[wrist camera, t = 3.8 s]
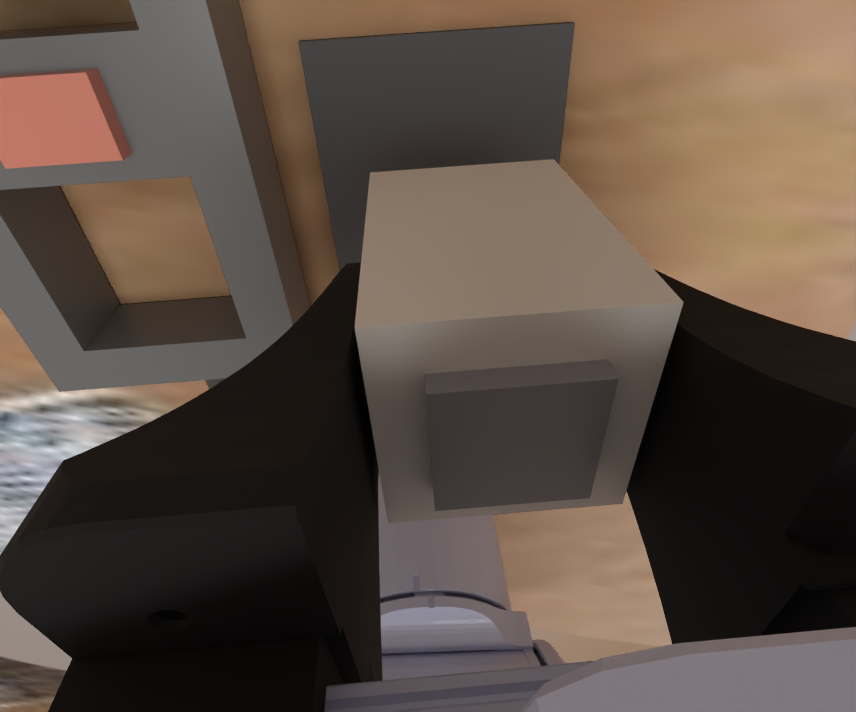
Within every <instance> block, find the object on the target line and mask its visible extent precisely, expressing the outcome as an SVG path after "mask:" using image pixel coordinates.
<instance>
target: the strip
mask: <svg viewBox="0 0 856 712" xmlns="http://www.w3.org/2000/svg"><path fill="white" fill-rule="evenodd" d="M129 1H130V4H131V7H132V10H133V13H134V16H135V19H136V22H132V23H117V24H102V25H87V26H72V27H58V28H43V29H28V30H13V31H0V307H1V308H2V310H3V311H4V313H5V314H6V316H7V317H8V319H9V320H10V321H11V323H12V324H13V326H14V327H15V329H16V330H17V331H18V333H19V334H20V336H21V337H22V339H23V340H24V342H25V343H26V344H27V346H28V347H29V349H30V350H31V352H32V353H33V354H34V356H35V357H36V359H37V360H38V362H39V363H40V364H41V366H42V367H43V369H44V370H45V372H46V373H47V375H48V376H49V377H50V379H51V380H52V382H53V383H54V385H55V386H56V387H57V389H58V390H59V392H60V391H73V390H85V389H98V388H110V387H123V386H135V385H147V384H160V383H172V382H185V381H197V380H205V381H206V383H207V385H208V387H209V389H211V388H212V387H214V386H215V385H217V384H218V383H220V382H221V381H223V380H224V379H226V378H227V377H229V376H230V375H232V374H233V373H235V372H236V371H238V370H239V369H241V368H242V367H244V366H245V365H247V364H248V363H249V362H251V361H252V360H253V359H255V358H256V357H257V356H258V355H260V354H261V353H262V352H263V351H265V350H266V349H267V348H269V347H270V346H271V345H272V344H273V343H274V342H276V341H277V340H278V339H279V338H280V337H281V336H282V335H283V334H285V333H286V332H287V331H288V330H289V329H290V328H291V327H292V326H293V325H294V323H295V322H296V321H297V320H298V319H299V318H300V317H301V316H302V315H303V314H304V313H305V312H306V311H307V310H308V309H309V308H310V303H309V299H308V294H307V290H306V286H305V282H304V278H303V273H302V269H301V265H300V261H299V256H298V252H297V248H296V244H295V239H294V235H293V231H292V227H291V222H290V218H289V214H288V210H287V205H286V201H285V197H284V193H283V188H282V184H281V180H280V176H279V171H278V167H277V163H276V159H275V155H274V150H273V146H272V142H271V138H270V133H269V129H268V125H267V121H266V116H265V112H264V108H263V104H262V99H261V95H260V91H259V87H258V82H257V78H256V74H255V70H254V65H253V61H252V57H251V53H250V48H249V44H248V40H247V36H246V31H245V27H244V23H243V19H242V15H241V10H240V6H239V2H238V0H129ZM185 176H190V177H191V180H192V183H193V186H194V189H195V192H196V194H197V197H198V200H199V203H200V206H201V209H202V212H203V215H204V218H205V220H206V223H207V226H208V229H209V232H210V235H211V238H212V241H213V243H214V246H215V249H216V252H217V255H218V258H219V261H220V264H221V267H222V269H223V272H224V275H225V278H226V281H227V284H228V287H229V290H230V292H231V295H232V296H225V297H213V298H200V299H187V300H174V301H161V302H148V303H135V304H122V305H120V303H119V301H118V299H117V297H116V295H115V293H114V291H113V289H112V287H111V285H110V283H109V281H108V280H107V278H106V276H105V274H104V272H103V270H102V268H101V266H100V264H99V262H98V260H97V258H96V256H95V254H94V252H93V250H92V249H91V247H90V245H89V243H88V241H87V239H86V237H85V235H84V233H83V231H82V229H81V227H80V225H79V223H78V221H77V219H76V218H75V216H74V214H73V212H72V210H71V208H70V206H69V204H68V202H67V200H66V198H65V196H64V194H63V192H62V190H61V189H60V187H59V186H62V185H75V184H89V183H103V182H116V181H130V180H144V179H157V178H171V177H185Z"/></svg>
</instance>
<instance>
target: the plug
mask: <svg viewBox="0 0 856 712" xmlns="http://www.w3.org/2000/svg"><path fill="white" fill-rule="evenodd" d="M683 303H684V302H683V301H682V300H681V299H680V298H679V297H678V296H677V294H676V293H675V292H674V291H673V290H672V289H671V288H670V287H669V286H668V284H667V283H666V282H665V281H664V280H663V279H662V278H661V277H660V276H659V275H658V273H657V272H656V271H655V270H654V269H653V268H652V267H651V266H650V265H649V264H648V262H647V261H646V260H645V259H644V258H643V257H642V256H641V255H640V254H639V253H638V251H637V250H636V249H635V248H634V247H633V246H632V245H631V244H630V243H629V242H628V240H627V239H626V238H625V237H624V236H623V235H622V234H621V233H620V232H619V231H618V229H617V228H616V227H615V226H614V225H613V224H612V223H611V222H610V221H609V219H608V218H607V217H606V216H605V215H604V214H603V213H602V212H601V211H600V210H599V208H598V207H597V206H596V205H595V204H594V203H593V202H592V201H591V200H590V199H589V197H588V196H587V195H586V194H585V193H584V192H583V191H582V190H581V189H580V188H579V186H578V185H577V184H576V183H575V182H574V181H573V180H572V179H571V178H570V177H569V175H568V174H567V173H566V172H565V171H564V170H563V169H562V168H561V167H560V165H559V164H558V163H557V162H556V161H555V160H554V159H549V160H535V161H522V162H508V163H494V164H480V165H466V166H452V167H438V168H425V169H411V170H397V171H383V172H370V178H369V188H368V198H367V208H366V218H365V228H364V238H363V248H362V258H361V268H360V278H359V288H358V298H357V308H356V318H355V333H356V339H357V345H358V351H359V357H360V363H361V368H362V374H363V380H364V386H365V392H366V398H367V403H368V409H369V415H370V421H371V427H372V433H373V438H374V444H375V450H376V456H377V462H378V468H379V473H380V479H381V485H382V491H383V497H384V503H385V508H386V514H387V520H388V523H400V522H411V521H423V520H435V519H447V518H459V517H470V516H482V515H494V514H506V513H518V512H530V511H541V510H553V509H565V508H577V507H589V506H601V505H612V504H622V503H623V500H624V496H625V493H626V490H627V487H628V483H629V480H630V477H631V473H632V470H633V467H634V464H635V460H636V457H637V454H638V450H639V447H640V444H641V441H642V437H643V434H644V431H645V427H646V424H647V421H648V418H649V414H650V411H651V408H652V404H653V401H654V398H655V395H656V391H657V388H658V385H659V381H660V378H661V375H662V372H663V368H664V365H665V362H666V358H667V355H668V352H669V349H670V345H671V342H672V339H673V335H674V332H675V329H676V326H677V322H678V319H679V316H680V312H681V309H682V306H683Z"/></svg>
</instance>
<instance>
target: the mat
mask: <svg viewBox="0 0 856 712" xmlns="http://www.w3.org/2000/svg"><path fill="white" fill-rule="evenodd" d="M574 24H575V23H573V22H564V23H550V24H535V25H521V26H506V27H491V28H477V29H462V30H448V31H433V32H418V33H404V34H389V35H375V36H360V37H345V38H331V39H316V40H301V41H299V47H300V53H301V58H302V64H303V69H304V75H305V80H306V86H307V91H308V97H309V102H310V108H311V113H312V119H313V124H314V130H315V135H316V141H317V146H318V152H319V157H320V163H321V168H322V174H323V179H324V185H325V190H326V196H327V201H328V207H329V212H330V218H331V223H332V229H333V234H334V240H335V245H336V251H337V256H338V262H339V267H340V271H341V269H342V268H343V267H344V266H345V265H346V264H347V263H359V262H361V258H362V248H363V238H364V228H365V218H366V208H367V198H368V188H369V178H370V172H383V171H397V170H411V169H425V168H438V167H452V166H466V165H480V164H494V163H508V162H522V161H535V160H549V159H554V160H555V161H556V162H557V163H558V164H559V160H560V151H561V142H562V133H563V124H564V115H565V106H566V96H567V87H568V78H569V69H570V60H571V51H572V42H573V33H574Z"/></svg>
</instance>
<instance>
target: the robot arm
mask: <svg viewBox="0 0 856 712" xmlns="http://www.w3.org/2000/svg"><path fill="white" fill-rule="evenodd" d="M360 268H361V262H359V263H347V264H346V265H345V266H344V267H343V268H342V269H341V271H340V272H339V273H338V274H337V275H336V277H335V278H334V279H333V280H332V282H331V283H330V284H329V285H328V287H327V288H326V289H325V290H324V292H323V293H322V294H321V295H320V296H319V298H318V299H317V300H316V301H315V302H314V303H313V305H312V306H311V307H310V308H309V309H308V310H307V311H306V312H305V313H304V314H303V315H302V316H301V317H300V318H299V319H298V320H297V321H296V322H295V323H294V325H293V326H292V327H291V328H290V329H289V330H288V331H287V332H286V333H285V334H283V335H282V336H281V337H280V338H279V339H278V340H277V341H276V342H274V343H273V344H272V345H271V346H270V347H269V348H267V349H266V350H265V351H263V352H262V353H261V354H260V355H258V356H257V357H256V358H255V359H253V360H252V361H251V362H249V363H248V364H247V365H245V366H244V367H242V368H241V369H239V370H238V371H236V372H235V373H233V374H232V375H230V376H229V377H227V378H226V379H224V380H223V381H221V382H220V383H218V384H217V385H215V386H214V387H212V388H211V389H209V390H208V391H206V392H204V393H203V394H201V395H199V396H198V397H196V398H194V399H192V400H191V401H189V402H187V403H185V404H184V405H182V406H180V407H178V408H176V409H174V410H172V411H171V412H169V413H167V414H165V415H163V416H161V417H159V418H157V419H155V420H153V421H151V422H149V423H147V424H145V425H143V426H141V427H139V428H137V429H135V430H133V431H130V432H128V433H126V434H124V435H121V436H119V437H117V438H115V439H112V440H110V441H108V442H106V443H103V444H101V445H99V446H97V447H94V448H92V449H90V450H88V451H85V452H83V453H81V454H78V455H76V456H74V457H71V458H69V459H66V460H64V461H63V462H62V463H61V465H60V466H59V468H58V469H57V471H56V472H55V473H54V475H53V477H52V478H51V480H50V481H49V483H48V484H47V486H46V487H45V489H44V490H43V492H42V493H41V495H40V496H39V498H38V499H37V501H36V502H35V504H34V505H33V507H32V508H31V510H30V511H29V513H28V514H27V516H26V517H25V519H24V520H23V522H22V523H21V525H20V526H19V528H18V529H17V531H16V533H15V534H14V536H13V537H12V539H11V540H10V542H9V543H8V545H7V546H6V548H5V549H4V551H3V552H2V554H1V555H0V591H1V593H2V595H3V597H4V598H5V600H6V601H7V602H8V603H9V604H10V605H11V606H12V607H13V608H14V609H15V611H16V612H17V613H18V614H19V615H21V616H22V617H23V618H24V619H25V620H27V621H28V622H29V623H30V624H31V625H33V626H34V627H35V628H36V629H38V630H39V631H40V632H41V633H42V634H44V635H45V636H46V637H47V638H49V639H50V640H51V641H52V642H53V643H54V644H56V645H57V646H58V647H60V649H62V650H63V651H64V652H65V653H67V654H68V655H69V656H70V657H71V658H72V661H71V663H70V665H69V667H68V669H67V671H66V674H65V676H64V678H63V680H62V682H61V685H60V687H59V689H58V691H57V693H56V696H55V698H54V700H53V702H52V704H51V707H50V709H49V711H48V712H856V342H855V341H851V340H847V339H844V338H840V337H836V336H832V335H828V334H825V333H821V332H817V331H813V330H809V329H806V328H802V327H799V326H795V325H792V324H789V323H785V322H782V321H779V320H776V319H773V318H770V317H767V316H764V315H761V314H758V313H756V312H753V311H750V310H747V309H744V308H741V307H739V306H736V305H733V304H731V303H728V302H725V301H723V300H721V299H718V298H716V297H714V296H711V295H709V294H707V293H704V292H702V291H699V290H697V289H695V288H693V287H690V286H688V285H686V284H684V283H682V282H679V281H677V280H675V279H673V278H671V277H669V276H667V275H665V274H663V273H661V272H659V271H657V270H655V269H654V270H655V271H656V272H657V273H658V275H659V276H660V277H661V278H662V279H663V280H664V281H665V282H666V283H667V284H668V286H669V287H670V288H671V289H672V290H673V291H674V292H675V293H676V294H677V296H678V297H679V298H680V299H681V300H682V301H683V302H684V303H683V306H682V309H681V312H680V316H679V319H678V322H677V326H676V329H675V332H674V335H673V339H672V342H671V345H670V349H669V352H668V355H667V358H666V362H665V365H664V368H663V372H662V375H661V378H660V381H659V385H658V388H657V391H656V395H655V398H654V401H653V404H652V408H651V411H650V414H649V418H648V421H647V424H646V427H645V431H644V434H643V437H642V441H641V444H640V447H639V450H638V454H637V457H636V460H635V464H634V467H633V470H632V473H631V477H630V480H629V483H628V487H627V493H628V496H629V499H630V502H631V505H632V508H633V511H634V514H635V517H636V520H637V523H638V526H639V529H640V532H641V536H642V539H643V542H644V545H645V548H646V551H647V555H648V558H649V562H650V565H651V568H652V572H653V575H654V579H655V582H656V585H657V589H658V592H659V596H660V599H661V602H662V606H663V610H664V614H665V618H666V621H667V625H668V629H669V633H670V637H671V640H672V645H667V646H662V647H657V648H651V649H646V650H642V651H636V652H631V653H626V654H621V655H616V656H610V657H605V658H601V659H599V660H596V661H588V662H578V663H565V661H564V660H563V659H562V658H561V657H560V656H559V654H558V653H557V651H556V650H555V649H554V648H553V647H552V645H551V644H549V643H548V642H546V641H544V640H532V638H531V633H530V628H529V624H528V619H527V614H526V613H525V612H521V611H512V610H511V605H510V599H509V594H508V589H507V584H506V579H505V573H504V568H503V563H502V558H501V553H500V547H499V542H498V537H497V532H496V527H495V521H494V516H493V515H482V516H470V517H459V518H447V519H435V520H423V521H411V522H400V523H388V520H387V514H386V508H385V503H384V497H383V491H382V485H381V479H380V473H379V468H378V462H377V456H376V450H375V444H374V438H373V433H372V427H371V421H370V415H369V409H368V403H367V398H366V392H365V386H364V380H363V374H362V368H361V363H360V357H359V351H358V345H357V339H356V333H355V318H356V308H357V298H358V288H359V278H360Z"/></svg>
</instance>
